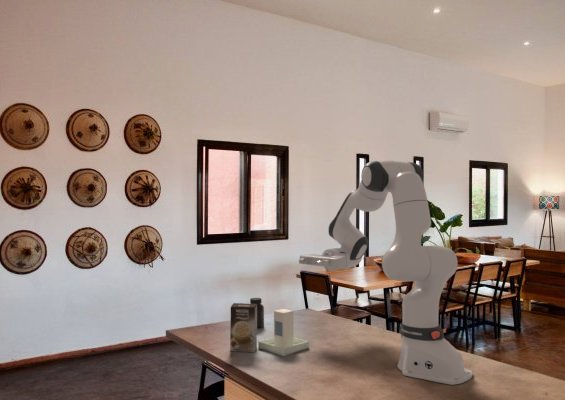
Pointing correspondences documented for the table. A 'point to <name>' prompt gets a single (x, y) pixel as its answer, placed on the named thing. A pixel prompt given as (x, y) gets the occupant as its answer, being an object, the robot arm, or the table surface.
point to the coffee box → (243, 327)
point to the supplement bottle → (259, 311)
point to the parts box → (283, 328)
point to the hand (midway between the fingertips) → (309, 262)
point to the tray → (269, 346)
